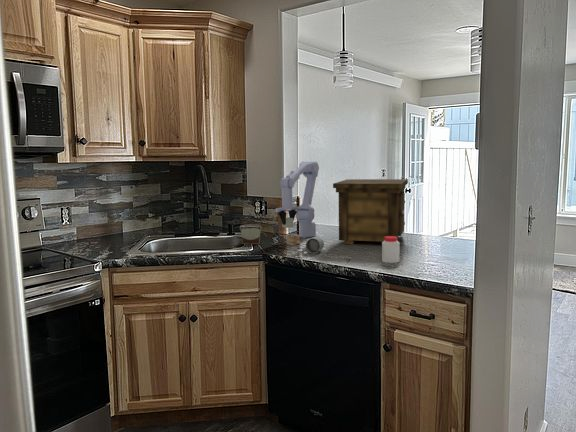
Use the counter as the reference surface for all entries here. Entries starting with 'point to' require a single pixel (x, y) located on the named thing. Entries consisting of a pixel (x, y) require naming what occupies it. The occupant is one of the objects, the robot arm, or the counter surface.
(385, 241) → the pill bottle
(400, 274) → the counter surface
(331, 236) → the counter surface
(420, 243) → the counter surface
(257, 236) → the food container
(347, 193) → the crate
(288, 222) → the sage block
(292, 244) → the slab lower
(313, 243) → the ceramic mug
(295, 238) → the slab upper
